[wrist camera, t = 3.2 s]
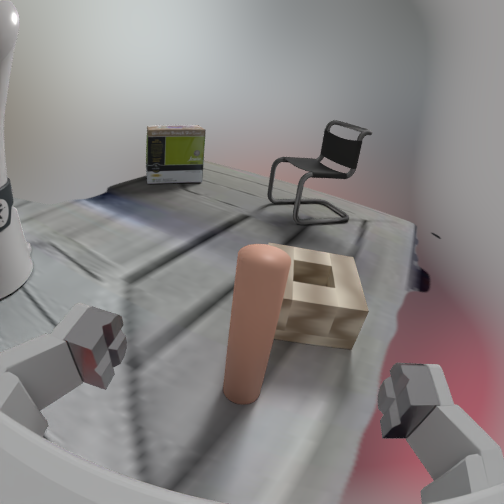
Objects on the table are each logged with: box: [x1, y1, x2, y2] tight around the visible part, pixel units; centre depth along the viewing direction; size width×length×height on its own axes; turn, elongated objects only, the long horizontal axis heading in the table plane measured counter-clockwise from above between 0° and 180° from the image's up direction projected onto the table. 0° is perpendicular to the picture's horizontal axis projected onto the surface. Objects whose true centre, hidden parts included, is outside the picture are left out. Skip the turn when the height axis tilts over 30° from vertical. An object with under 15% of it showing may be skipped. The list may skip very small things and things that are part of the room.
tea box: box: [146, 125, 205, 184], centre depth 80 cm, size 15×10×15 cm, turn 109°
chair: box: [268, 120, 372, 225], centre depth 67 cm, size 13×17×22 cm
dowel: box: [223, 244, 291, 404], centre depth 25 cm, size 4×4×15 cm
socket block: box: [268, 243, 369, 350], centre depth 39 cm, size 12×12×6 cm
